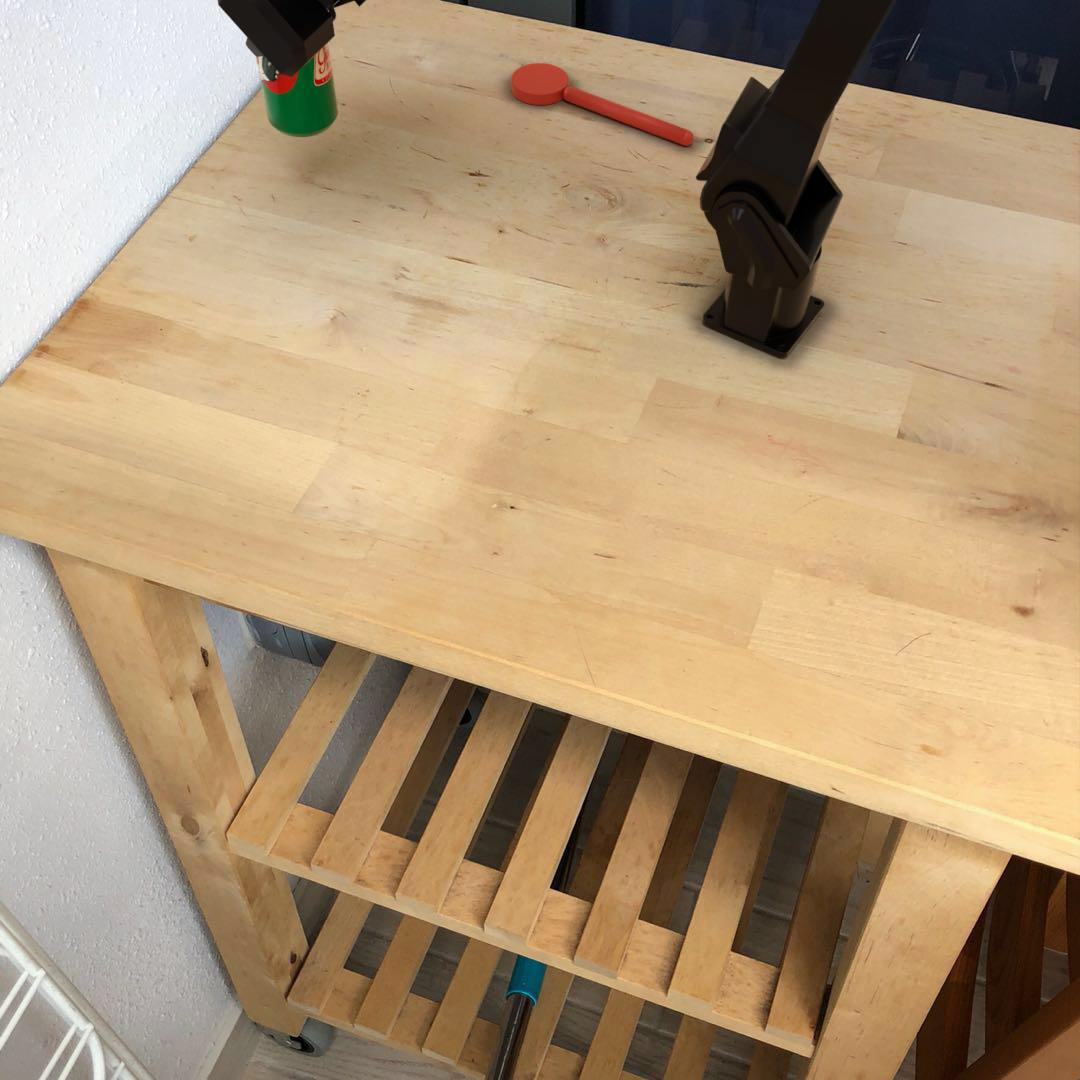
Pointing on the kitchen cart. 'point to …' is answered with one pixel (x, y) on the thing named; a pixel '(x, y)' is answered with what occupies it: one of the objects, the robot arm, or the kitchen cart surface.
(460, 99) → the kitchen cart surface
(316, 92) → the soda can
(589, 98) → the spoon
